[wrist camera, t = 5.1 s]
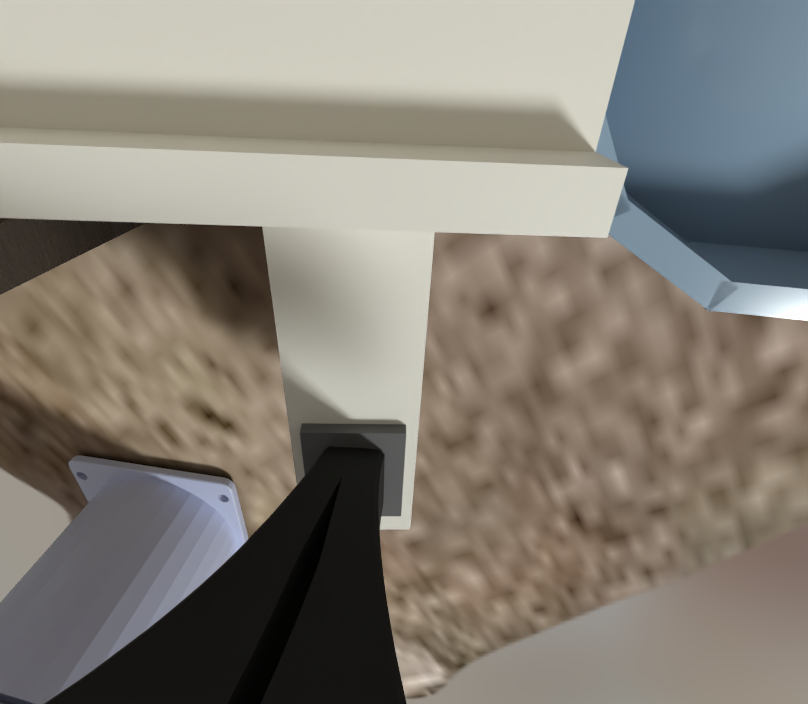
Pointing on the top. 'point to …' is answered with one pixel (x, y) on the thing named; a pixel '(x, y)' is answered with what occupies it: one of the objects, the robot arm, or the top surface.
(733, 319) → the top surface
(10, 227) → the stand
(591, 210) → the lever
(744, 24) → the blue bowl
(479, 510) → the top surface
